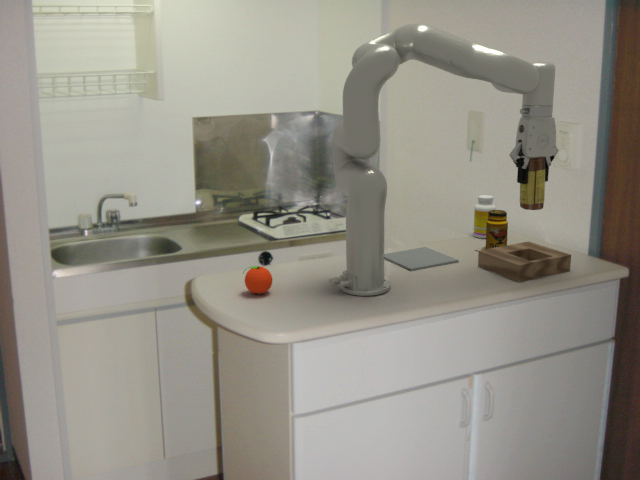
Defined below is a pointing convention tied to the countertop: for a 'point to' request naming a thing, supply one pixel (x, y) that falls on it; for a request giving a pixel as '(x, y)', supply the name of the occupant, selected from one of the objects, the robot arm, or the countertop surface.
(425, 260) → the rubber mat
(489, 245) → the condiment
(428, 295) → the countertop surface
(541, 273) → the socket block
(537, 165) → the sauce bottle
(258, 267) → the clementine
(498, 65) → the robot arm
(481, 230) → the supplement bottle
